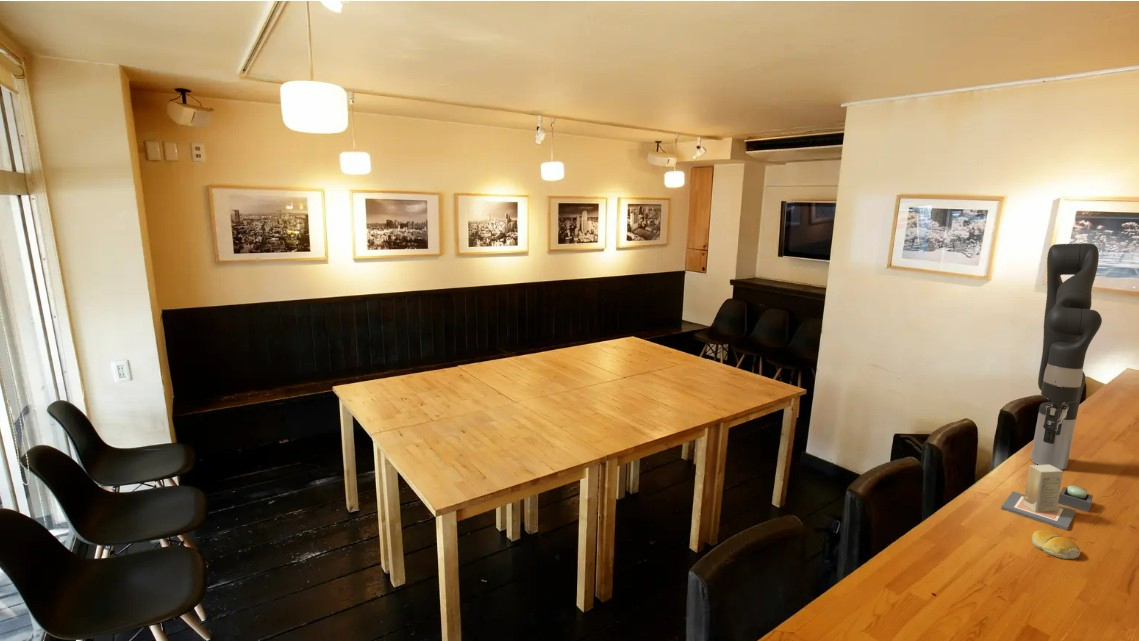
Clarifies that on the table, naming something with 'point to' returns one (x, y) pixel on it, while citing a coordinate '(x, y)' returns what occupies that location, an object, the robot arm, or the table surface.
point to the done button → (1077, 491)
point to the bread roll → (1055, 544)
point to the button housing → (1075, 500)
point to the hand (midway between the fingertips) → (1051, 438)
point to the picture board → (1053, 518)
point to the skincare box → (1042, 488)
